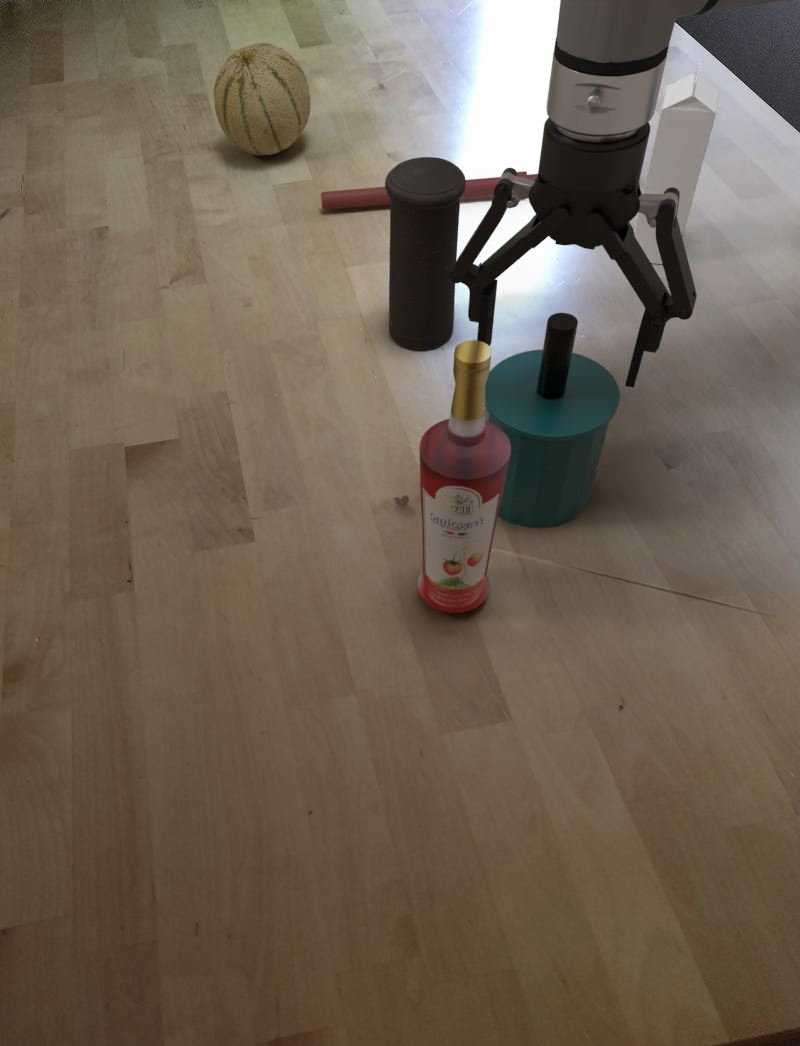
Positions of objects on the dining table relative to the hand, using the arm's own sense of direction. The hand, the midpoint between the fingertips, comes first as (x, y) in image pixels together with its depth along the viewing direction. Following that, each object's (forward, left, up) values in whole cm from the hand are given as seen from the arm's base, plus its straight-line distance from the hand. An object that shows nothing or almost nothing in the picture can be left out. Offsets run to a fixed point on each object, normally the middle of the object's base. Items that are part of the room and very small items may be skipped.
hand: (556, 364), depth 82 cm
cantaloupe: (+58, -61, -16) cm, 86 cm away
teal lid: (0, 0, -4) cm, 4 cm away
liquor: (+4, +16, -16) cm, 23 cm away
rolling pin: (+22, -55, -16) cm, 61 cm away
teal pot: (0, 0, -16) cm, 16 cm away
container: (+20, -23, -16) cm, 35 cm away
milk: (-4, -48, -16) cm, 51 cm away
